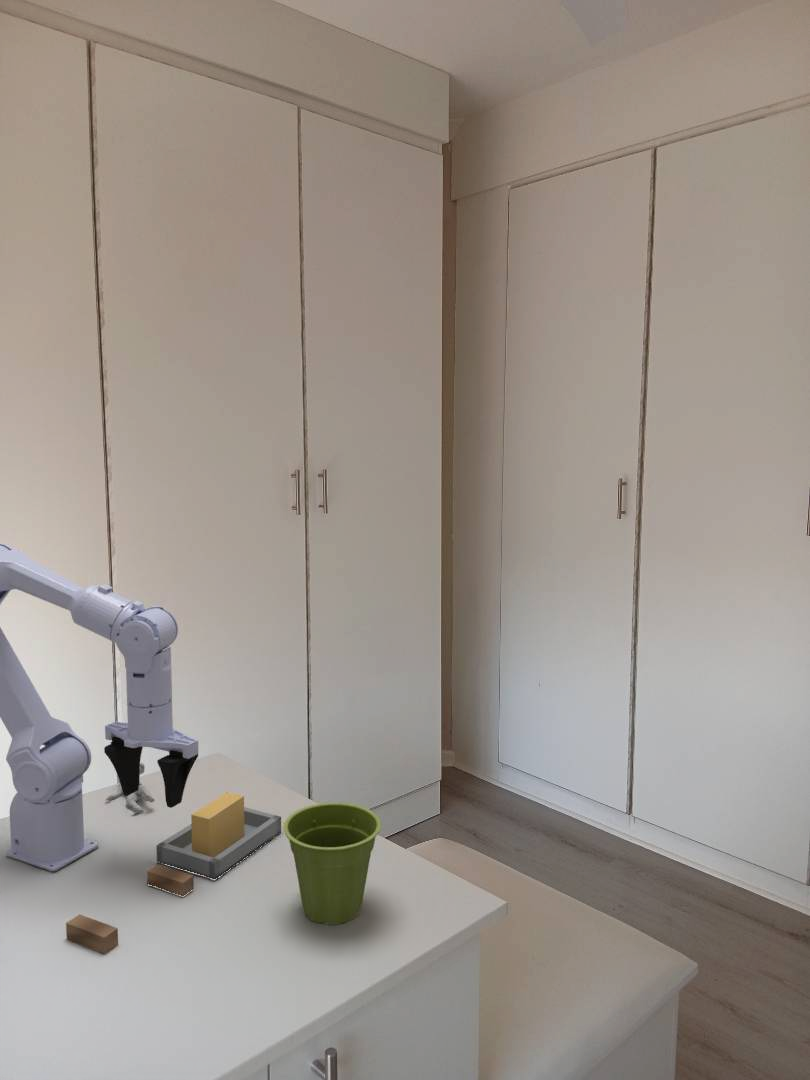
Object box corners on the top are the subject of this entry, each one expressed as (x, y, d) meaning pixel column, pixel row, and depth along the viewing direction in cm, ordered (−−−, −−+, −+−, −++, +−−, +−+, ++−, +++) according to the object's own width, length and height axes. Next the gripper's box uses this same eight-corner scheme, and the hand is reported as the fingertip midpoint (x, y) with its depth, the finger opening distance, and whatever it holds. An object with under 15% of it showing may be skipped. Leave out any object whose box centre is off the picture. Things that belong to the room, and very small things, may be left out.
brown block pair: (66, 939, 98) (66, 923, 98) (158, 878, 111) (157, 864, 111) (104, 953, 95) (104, 937, 95) (193, 890, 109) (193, 875, 108)
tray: (156, 862, 115) (156, 845, 115) (226, 818, 129) (226, 802, 128) (215, 880, 111) (214, 863, 111) (281, 832, 124) (281, 816, 124)
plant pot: (263, 914, 104) (262, 827, 102) (329, 874, 113) (329, 794, 111) (335, 951, 97) (336, 858, 95) (399, 905, 106) (400, 820, 104)
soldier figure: (116, 825, 128) (90, 777, 136) (137, 836, 132) (110, 788, 140) (154, 786, 129) (126, 741, 138) (174, 798, 133) (145, 753, 141)
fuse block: (192, 856, 116) (191, 814, 115) (227, 831, 123) (226, 792, 123) (210, 860, 115) (209, 819, 114) (244, 835, 122) (243, 796, 121)
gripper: (86, 700, 111) (89, 798, 113) (171, 718, 105) (173, 822, 107) (125, 686, 118) (128, 779, 120) (208, 702, 111) (210, 800, 113)
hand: (152, 798), depth 114 cm, fingers open, 7 cm apart
